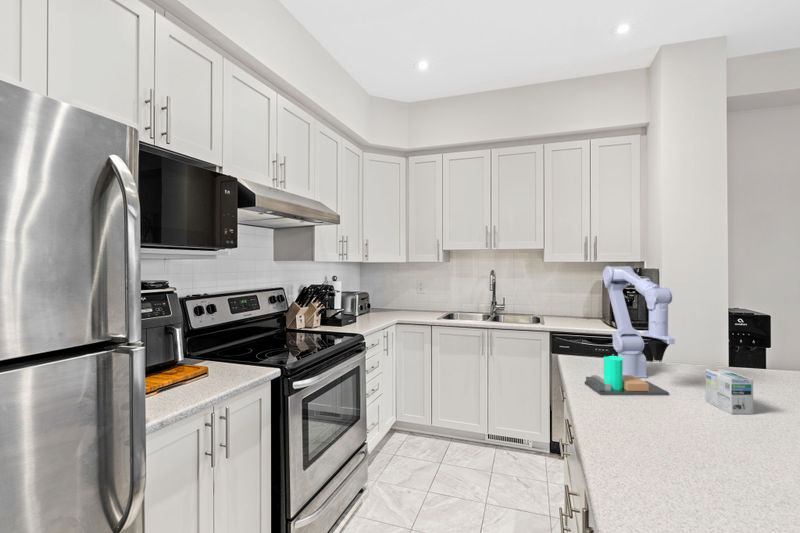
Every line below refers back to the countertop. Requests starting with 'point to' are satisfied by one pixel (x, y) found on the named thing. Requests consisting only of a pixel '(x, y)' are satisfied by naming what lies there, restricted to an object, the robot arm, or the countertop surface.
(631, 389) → the tan flat block
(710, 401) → the light bulb box
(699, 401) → the countertop surface
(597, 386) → the dark grey flat block
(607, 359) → the candle
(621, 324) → the robot arm
